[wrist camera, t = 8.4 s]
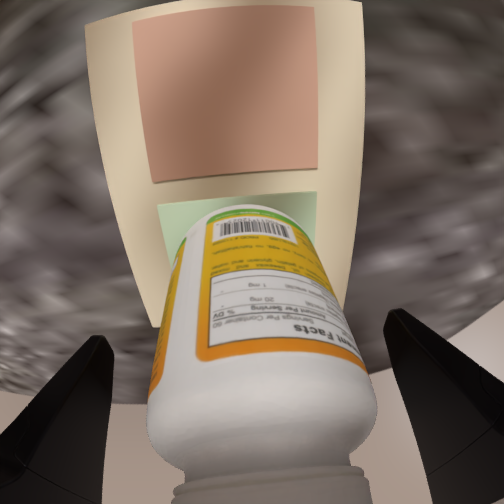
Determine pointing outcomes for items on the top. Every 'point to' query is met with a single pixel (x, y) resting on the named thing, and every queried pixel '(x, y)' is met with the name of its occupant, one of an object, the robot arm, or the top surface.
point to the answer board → (229, 123)
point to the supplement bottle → (257, 369)
